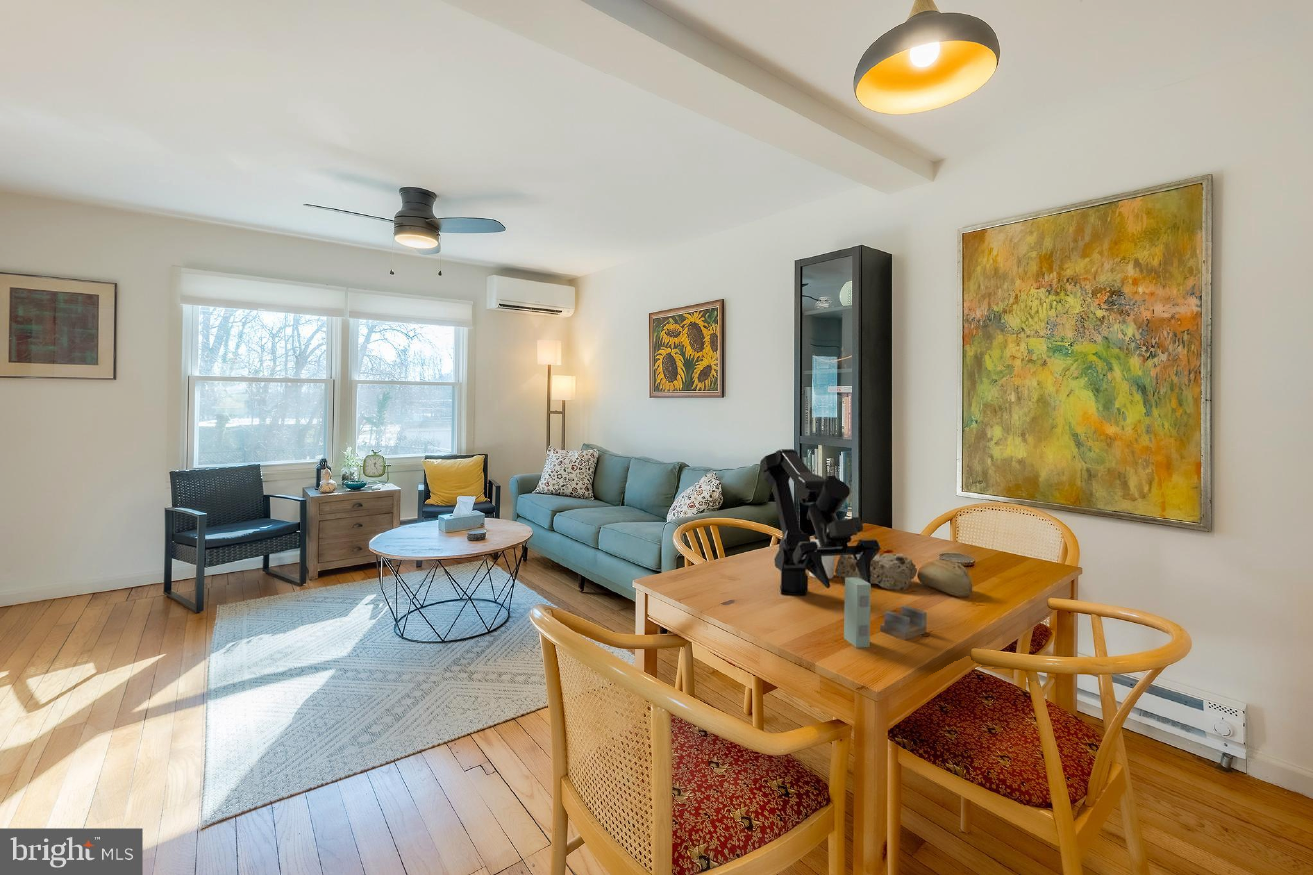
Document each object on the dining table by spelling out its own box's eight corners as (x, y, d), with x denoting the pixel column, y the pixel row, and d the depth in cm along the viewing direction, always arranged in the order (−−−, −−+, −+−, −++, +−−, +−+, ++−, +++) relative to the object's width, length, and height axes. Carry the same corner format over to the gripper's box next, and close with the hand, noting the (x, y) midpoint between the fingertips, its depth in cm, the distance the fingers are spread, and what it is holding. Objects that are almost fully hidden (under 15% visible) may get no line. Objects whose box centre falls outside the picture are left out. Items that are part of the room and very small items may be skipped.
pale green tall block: (843, 637, 122) (845, 577, 122) (857, 637, 123) (858, 577, 122) (856, 648, 117) (858, 585, 116) (870, 647, 117) (871, 584, 117)
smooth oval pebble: (932, 580, 163) (932, 552, 162) (982, 596, 150) (983, 565, 149) (908, 585, 159) (909, 556, 158) (958, 601, 145) (959, 570, 145)
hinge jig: (880, 630, 126) (880, 610, 126) (901, 623, 130) (901, 604, 130) (904, 640, 121) (905, 619, 121) (926, 632, 125) (926, 612, 125)
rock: (828, 581, 165) (830, 545, 167) (856, 583, 174) (858, 549, 176) (897, 591, 149) (898, 551, 151) (924, 593, 158) (925, 556, 160)
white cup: (805, 571, 172) (806, 538, 171) (833, 572, 171) (833, 538, 170) (808, 579, 164) (809, 544, 163) (837, 580, 163) (838, 545, 162)
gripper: (798, 505, 126) (820, 569, 116) (877, 503, 129) (905, 565, 119) (784, 533, 134) (803, 595, 124) (858, 530, 137) (883, 590, 127)
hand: (849, 586), depth 123 cm, fingers open, 9 cm apart
